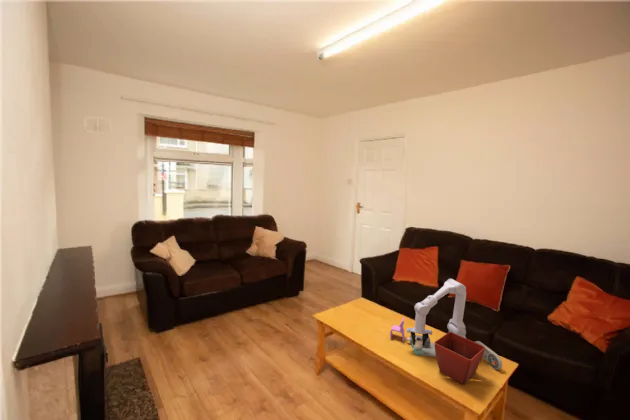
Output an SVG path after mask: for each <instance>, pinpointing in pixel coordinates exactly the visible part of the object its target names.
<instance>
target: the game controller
mask: <svg viewBox="0 0 630 420" xmlns="http://www.w3.org/2000/svg"><path fill="white" fill-rule="evenodd" d="M474 342H475V343H477V344H480V345H482V346H484V347H485V350H484V354H483V356H482V359H484V360H485V362H487V363H488V364H489V366H491V368H492V369H494V370H500V369H502V367H503V361H502V359H501V357H500V356H499V355H498V354H497V353H496V352H495V351H493V350H492V349H491V348H490V347H488V346H487V345H485V344H484V343H482V342H481V341H479V340H477V341H474Z"/></svg>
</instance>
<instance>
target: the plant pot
mask: <svg viewBox="0 0 630 420" xmlns="http://www.w3.org/2000/svg"><path fill="white" fill-rule="evenodd" d="M475 342H476V341H472V340H470V339H468V338H467V337H466V338H464V337H461V336H459V335H457V334H454V333H452V332H449V331H448V332H447V333H445V334H444V335H443V336H442V337H441V336H440V338H439V339H437V340H435V341H434V342H433V343H434V345H435V353H436V357H435V358H436V362H437V366H438V370H439V371H440V373H443V374H444V375H446V376H447V377H449V378H450V379H452V380H453V381H455V382H457V383H459V384H461V385H465V384H466V383H467V382H469V381H470V379H471V378H472V377H473V376H475V374H476V372H477V370H478V367H479V366H480V363H481V362H482V359H483V358H482V356H483V354H484V350H485V347H484V346H482V345H480V344H477V343H475Z"/></svg>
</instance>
